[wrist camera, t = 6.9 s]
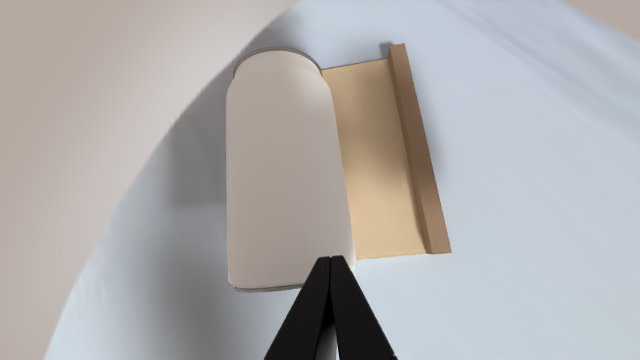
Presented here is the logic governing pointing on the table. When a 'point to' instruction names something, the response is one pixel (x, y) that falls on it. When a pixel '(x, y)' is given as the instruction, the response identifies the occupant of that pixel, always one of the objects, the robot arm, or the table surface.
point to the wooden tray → (386, 159)
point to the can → (282, 173)
